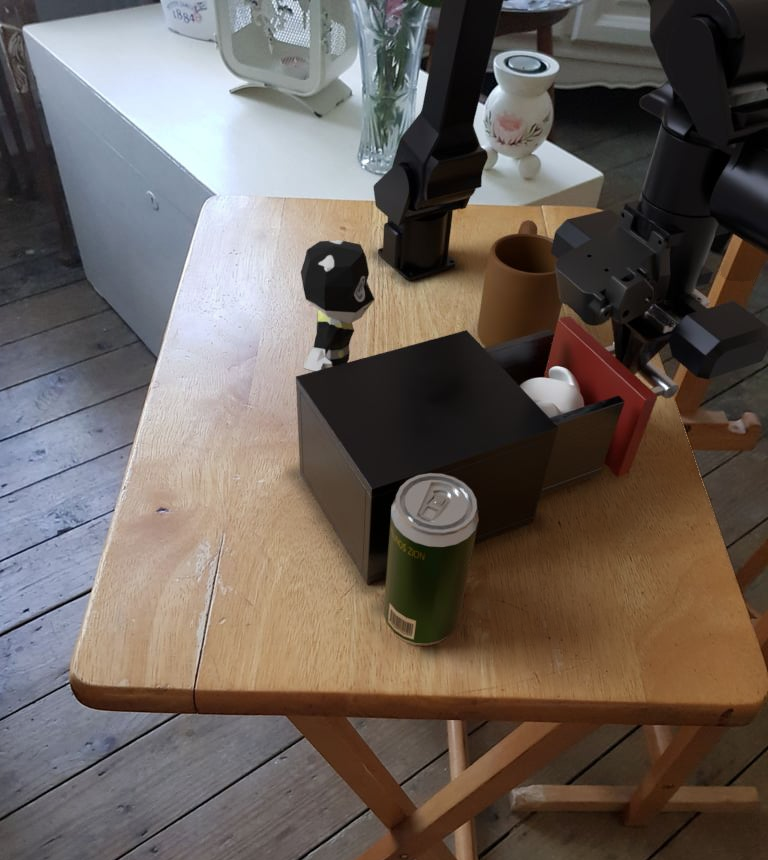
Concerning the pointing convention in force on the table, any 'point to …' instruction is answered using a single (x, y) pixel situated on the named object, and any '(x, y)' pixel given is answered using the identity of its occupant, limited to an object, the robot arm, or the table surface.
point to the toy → (335, 298)
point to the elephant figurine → (555, 392)
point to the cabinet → (419, 440)
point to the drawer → (587, 400)
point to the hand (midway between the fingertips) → (624, 376)
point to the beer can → (429, 557)
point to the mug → (519, 288)
